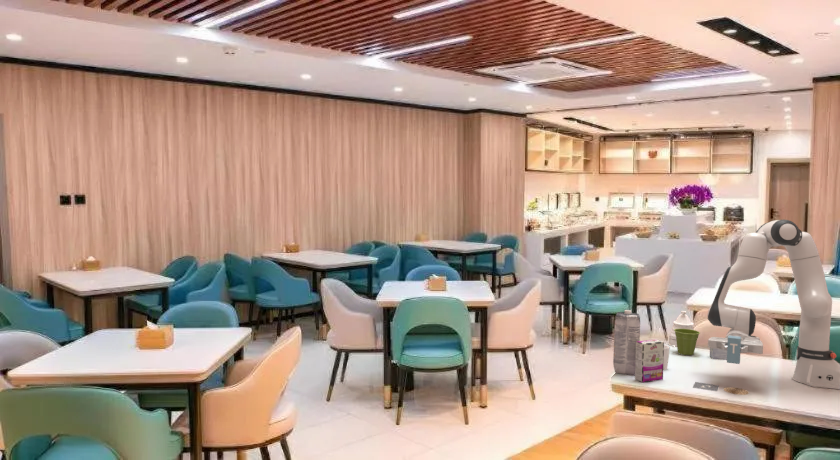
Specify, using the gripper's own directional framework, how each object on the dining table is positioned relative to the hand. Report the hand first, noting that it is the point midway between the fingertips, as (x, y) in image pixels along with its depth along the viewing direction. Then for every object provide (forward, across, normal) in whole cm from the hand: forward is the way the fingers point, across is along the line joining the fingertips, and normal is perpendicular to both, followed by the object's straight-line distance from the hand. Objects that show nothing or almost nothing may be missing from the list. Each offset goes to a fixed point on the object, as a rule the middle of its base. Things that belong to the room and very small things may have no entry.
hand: (734, 349), depth 258 cm
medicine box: (-55, -9, +17) cm, 58 cm away
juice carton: (-5, -42, +17) cm, 46 cm away
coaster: (-1, +1, +17) cm, 17 cm away
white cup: (-20, -31, +17) cm, 40 cm away
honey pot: (-73, -28, +17) cm, 80 cm away
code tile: (-1, -10, +17) cm, 20 cm away
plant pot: (-55, -24, +17) cm, 62 cm away
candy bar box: (+1, -32, +17) cm, 36 cm away
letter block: (0, 0, +5) cm, 5 cm away
